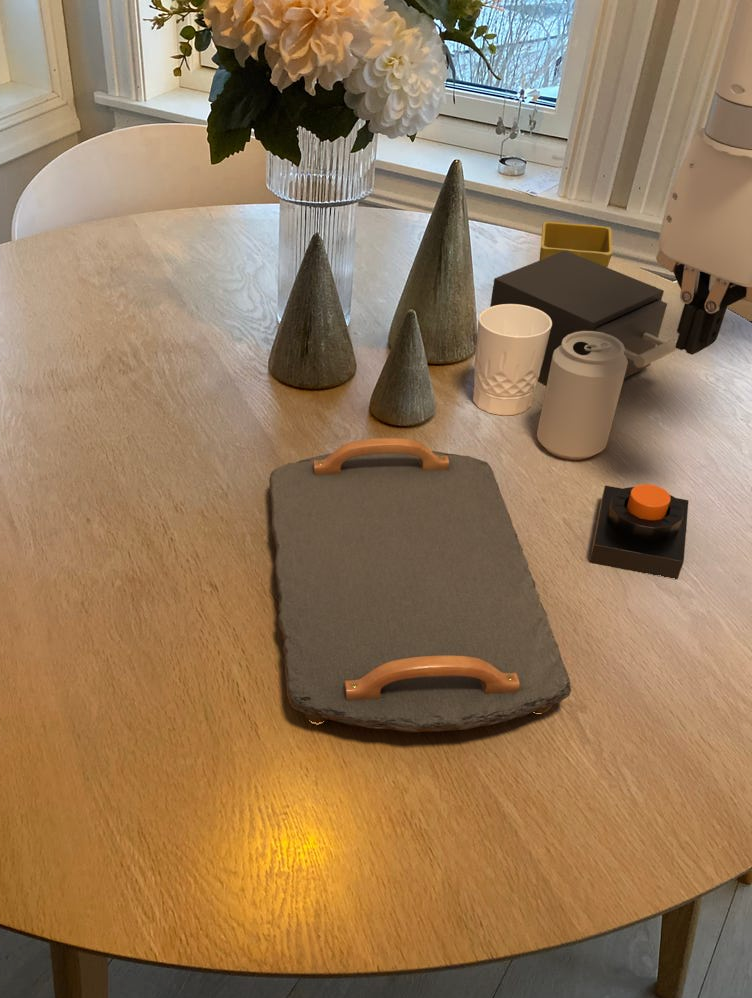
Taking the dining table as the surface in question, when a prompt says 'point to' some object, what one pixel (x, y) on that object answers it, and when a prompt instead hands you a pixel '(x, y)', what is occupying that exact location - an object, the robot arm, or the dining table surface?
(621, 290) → the cabinet
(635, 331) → the drawer
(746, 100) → the robot arm
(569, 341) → the can
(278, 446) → the dining table surface
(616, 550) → the panel
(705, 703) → the dining table surface
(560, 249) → the flower pot
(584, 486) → the dining table surface
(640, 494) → the button
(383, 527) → the serving tray
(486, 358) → the white cup
